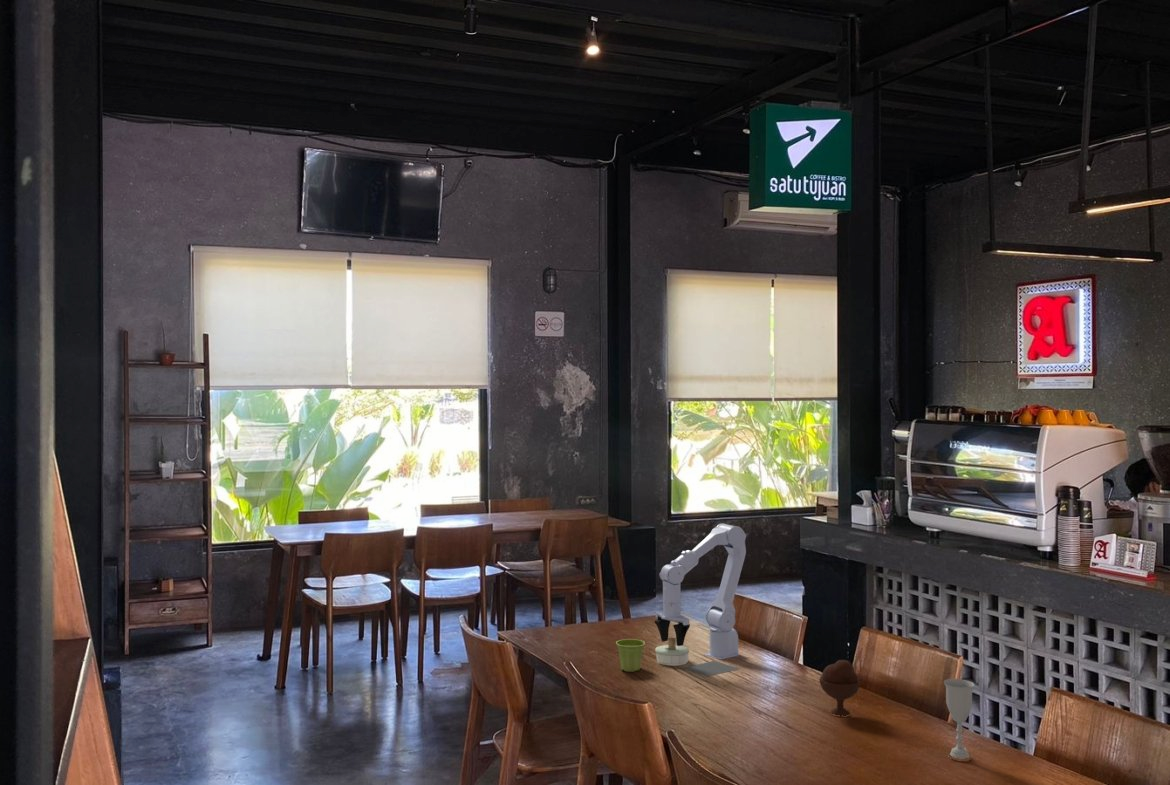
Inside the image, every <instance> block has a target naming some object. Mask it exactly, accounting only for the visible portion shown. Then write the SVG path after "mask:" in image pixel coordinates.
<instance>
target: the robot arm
mask: <svg viewBox="0 0 1170 785" xmlns="http://www.w3.org/2000/svg"><path fill="white" fill-rule="evenodd" d="M746 538H747V535H746V533H745V531H744V530H743V528H742V527H740V526H737V525H731V524H727V523H724V522H723V523H719V524H717V526H715V527H714V528H712V530H711V531H710V533H709V534H708V535H707V536H706V537H705V538H704V539H702V541H700V542H699V543H698V544H697V545H696V546H694V548H693V549H692V550H689V549H687V550H682V552H680V555H679V556H678V557H676V559H675V558H674V560H671V561H670V563H669V564H665V565H663V567H662V568H661V570H660V572H659V578H660V580H661V581H662V606H663V607H662V609H663V611H661V610H659V611H655V618H656V619H655V620H654V624H655V625H656V627H657V629H658V632H659V635H660V640H661V642H668V638H669V629H670V624H671V622H673V623H674V624H672V625H673V626H672V627H673V629H674V632H675V638H676V645H677V646H684V642H685V639H686V638H685V637H686V635H687V633H688V630H689V629H690V627H691V624H690V618H687V617H686V616H685V615H682V613H681V611H682V609H681V608H682V607H681V605H682V604H681V602H682V600H681V596H682V595H681V583H682V582H683V580H684V578H685V575H686V574H688V572H690V571H691V570H692V569H694V567H696V566H697V565H698V564H699V559H700V558H701V557H702V556H704V555H706V554H707V553H708V552H710V551H711V550H712V549H714V548H715V547H717V546H723V547H724V548H725V550H726V551H727V553H728V555H727V560H726V562H725V565H724V566H725V567H724V570H723V574H722V577H721V582H720V586H719V588H718V593H717V597H716V598H715V599H714V600H713V601H712V602H711V604H710V606H709V608H708V610H707V611H706V613H705V621H706V623H707V624H708V628H709V652H707V653H703V654H704V656H707V657H710V658H713V659H717V660H725V659H729V658H733V657H734V658H735V657H739V656H740V655H741V653H739V635H738V632H737V630H736V629H735V628H734V627H735V624H736V609H735V606H734V604H733V603H734V600H735V594H736V592H737V588H738V584H739V581H740V578H741V572H742V569H743V566H744V562H745V558H746V554H747V548H746V547H747V546H746ZM675 623H676V624H675Z"/></svg>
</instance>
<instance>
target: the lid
mask: <svg viewBox="0 0 1170 785" xmlns="http://www.w3.org/2000/svg"><path fill="white" fill-rule="evenodd" d="M667 642H668V644H666V645H665V644H663V645H659V646H657V647H655V653H657V654H660V655H666V656H680V655H685V654H688V655H689V652H690V649H689V647H686V646H684V645H682V646H677V642H676V637H668V641H667Z"/></svg>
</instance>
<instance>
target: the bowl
mask: <svg viewBox="0 0 1170 785" xmlns="http://www.w3.org/2000/svg"><path fill="white" fill-rule="evenodd" d="M655 653H656V652H655ZM655 655H656V662H657V663H658V664H660V665H663V666H673V667H674V666H675V667H676V666H677V667H678V666H683V665H686V664H687V663H688V662H689V653H688V654H685V655H680V656H666V655H660V654H657V653H656V654H655Z"/></svg>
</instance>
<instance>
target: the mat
mask: <svg viewBox="0 0 1170 785" xmlns="http://www.w3.org/2000/svg"><path fill="white" fill-rule="evenodd" d="M682 670H686V671H689V672H692V673H695V674H699V675H702V676H705V677H711V676H717V675H721V674H724V673H729V672H732V671H737V670H740V667H739V668H738V667H735V666H733V665H729V664H726V663H723V662H719V661H715V660H711V661H707V662H703V663H698V664H695V665H689V666H685V667H682Z"/></svg>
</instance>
